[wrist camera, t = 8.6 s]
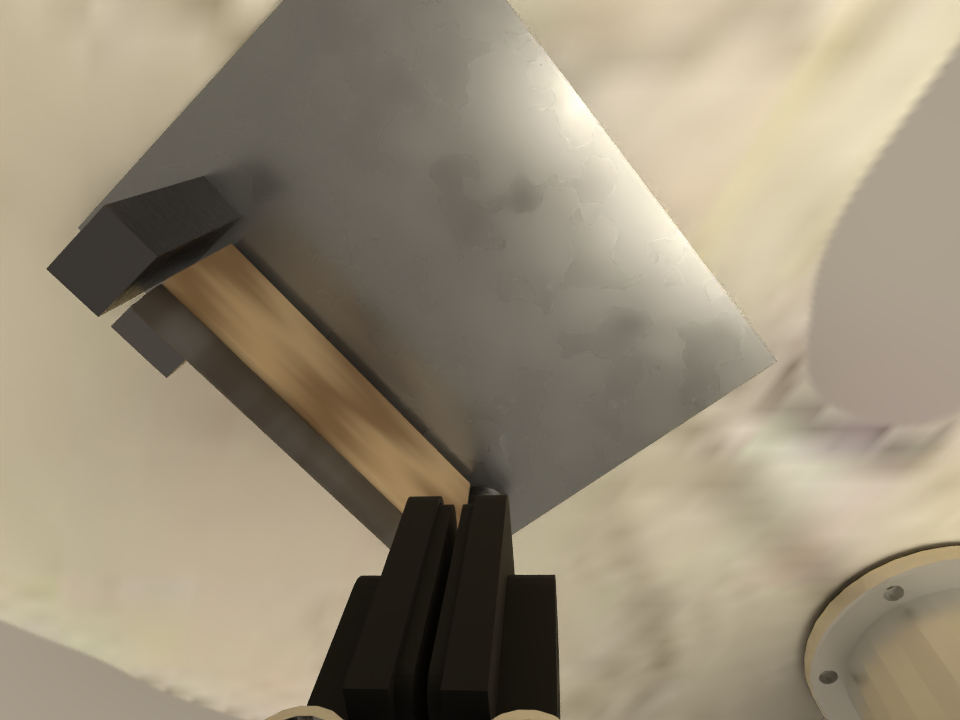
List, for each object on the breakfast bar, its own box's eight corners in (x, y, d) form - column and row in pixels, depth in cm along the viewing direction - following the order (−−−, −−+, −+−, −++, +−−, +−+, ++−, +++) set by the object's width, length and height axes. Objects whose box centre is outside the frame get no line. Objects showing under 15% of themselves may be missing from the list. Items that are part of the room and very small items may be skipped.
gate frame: (773, 356, 27) (849, 441, 21) (445, 571, 33) (425, 692, 26) (408, -130, 22) (357, -219, 15) (85, 225, 27) (-53, 270, 21)
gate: (470, 483, 30) (456, 576, 24) (445, 501, 30) (426, 597, 24) (231, 243, 26) (151, 287, 20) (207, 267, 26) (122, 317, 21)
